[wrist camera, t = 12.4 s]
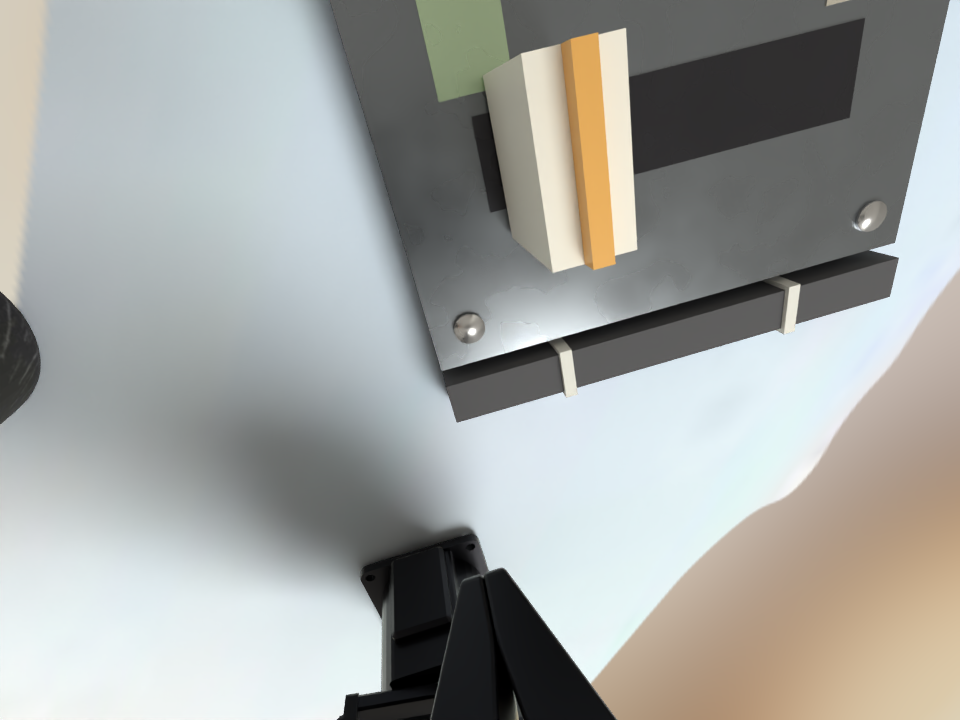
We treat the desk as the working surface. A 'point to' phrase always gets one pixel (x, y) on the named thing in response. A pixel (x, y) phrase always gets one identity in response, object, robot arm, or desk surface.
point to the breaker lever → (567, 150)
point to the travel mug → (16, 359)
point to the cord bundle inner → (668, 334)
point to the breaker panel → (645, 148)
